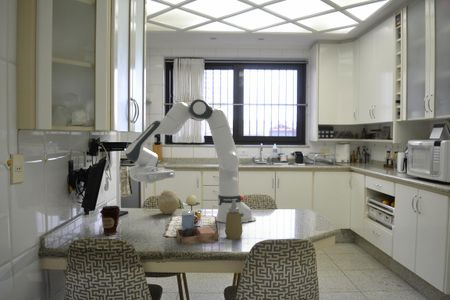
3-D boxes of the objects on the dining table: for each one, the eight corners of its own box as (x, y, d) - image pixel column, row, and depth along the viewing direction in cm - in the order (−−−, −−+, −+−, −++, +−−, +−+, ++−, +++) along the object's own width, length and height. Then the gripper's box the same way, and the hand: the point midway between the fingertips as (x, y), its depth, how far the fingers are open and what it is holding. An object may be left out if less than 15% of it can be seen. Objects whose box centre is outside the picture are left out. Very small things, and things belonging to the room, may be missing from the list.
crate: (212, 234, 149) (212, 227, 149) (218, 243, 136) (218, 235, 136) (176, 236, 144) (176, 229, 144) (179, 246, 132) (179, 237, 132)
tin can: (192, 236, 143) (193, 210, 142) (194, 240, 137) (195, 213, 137) (180, 237, 141) (181, 211, 141) (182, 241, 136) (182, 213, 136)
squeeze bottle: (224, 236, 145) (224, 198, 145) (241, 236, 146) (241, 198, 145) (225, 242, 137) (225, 201, 137) (243, 241, 138) (244, 201, 137)
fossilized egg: (157, 216, 182) (157, 191, 181) (157, 212, 194) (157, 188, 193) (179, 215, 185) (179, 190, 184) (177, 211, 197) (177, 187, 196)
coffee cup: (113, 236, 144) (113, 209, 143) (97, 235, 145) (97, 208, 145) (123, 231, 152) (123, 205, 152) (107, 230, 154) (107, 204, 153)
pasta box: (210, 233, 147) (210, 226, 147) (215, 240, 137) (215, 232, 137) (196, 234, 145) (196, 227, 145) (200, 241, 136) (200, 233, 136)
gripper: (131, 170, 156) (145, 172, 146) (165, 167, 170) (180, 168, 160) (131, 182, 156) (146, 185, 146) (165, 178, 170) (181, 180, 161)
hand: (164, 176), depth 153 cm, fingers open, 8 cm apart
